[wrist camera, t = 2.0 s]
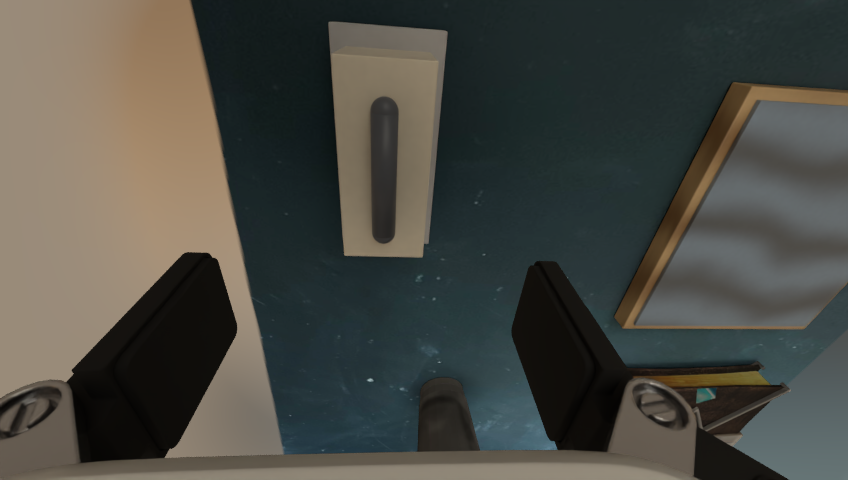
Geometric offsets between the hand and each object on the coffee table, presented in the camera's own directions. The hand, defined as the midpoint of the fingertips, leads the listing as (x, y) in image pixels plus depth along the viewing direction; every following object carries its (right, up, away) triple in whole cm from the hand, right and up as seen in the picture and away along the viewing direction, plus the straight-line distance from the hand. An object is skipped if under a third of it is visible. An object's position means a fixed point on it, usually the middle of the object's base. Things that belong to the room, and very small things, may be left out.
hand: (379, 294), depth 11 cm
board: (+29, +3, +17) cm, 33 cm away
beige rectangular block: (-1, +8, +11) cm, 14 cm away
